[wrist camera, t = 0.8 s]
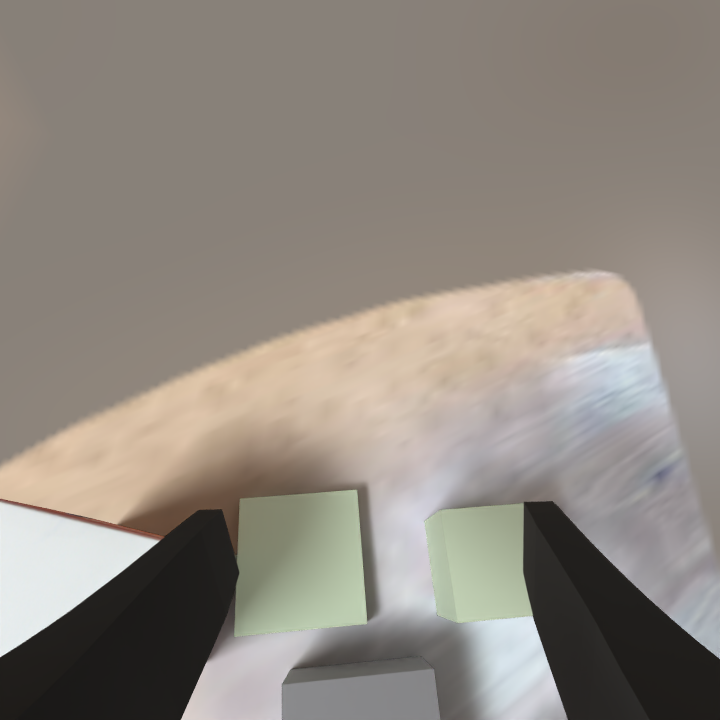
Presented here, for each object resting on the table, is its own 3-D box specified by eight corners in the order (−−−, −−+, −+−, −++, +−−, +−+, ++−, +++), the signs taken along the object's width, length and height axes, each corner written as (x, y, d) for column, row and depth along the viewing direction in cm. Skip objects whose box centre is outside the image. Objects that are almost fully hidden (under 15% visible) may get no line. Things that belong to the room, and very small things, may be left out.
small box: (240, 555, 26) (181, 541, 16) (204, 668, 23) (109, 729, 14) (112, 522, 26) (-18, 491, 17) (63, 630, 24) (-122, 663, 14)
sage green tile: (366, 622, 24) (367, 624, 23) (238, 634, 24) (233, 636, 23) (356, 492, 27) (357, 489, 26) (243, 501, 27) (239, 498, 26)
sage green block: (523, 606, 25) (562, 612, 20) (436, 615, 25) (457, 623, 20) (503, 515, 27) (535, 502, 23) (424, 521, 27) (440, 509, 22)
